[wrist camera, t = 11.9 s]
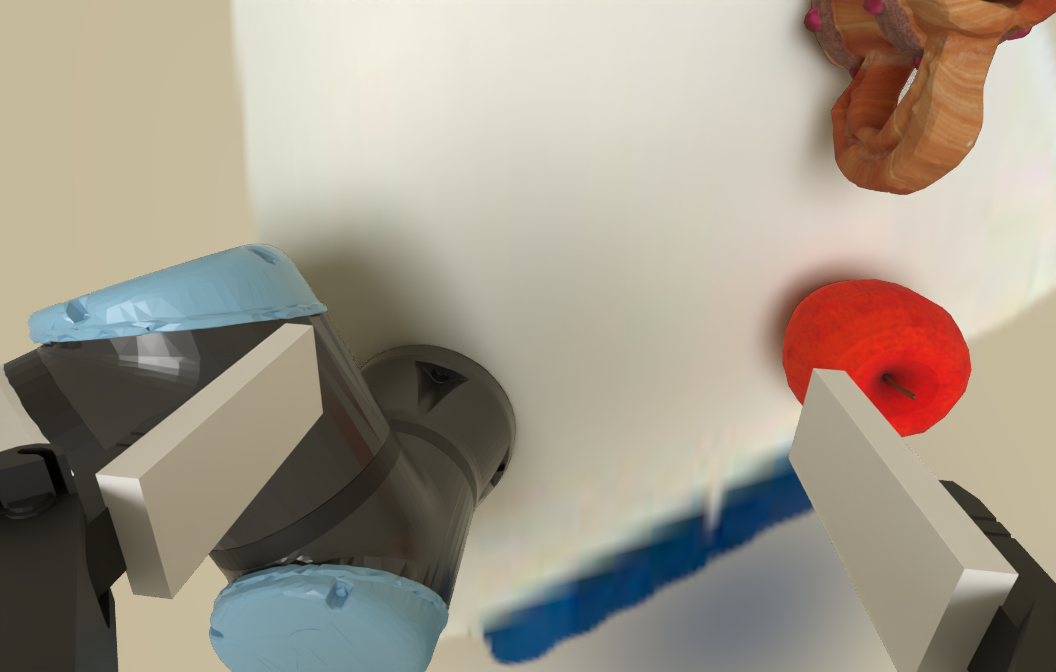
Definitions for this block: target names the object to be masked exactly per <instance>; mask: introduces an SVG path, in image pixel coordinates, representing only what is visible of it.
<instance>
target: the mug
mask: <svg viewBox="0 0 1056 672" xmlns="http://www.w3.org/2000/svg"><path fill="white" fill-rule="evenodd" d="M1055 12H1056V0H812V7H811V10H810V11H809V12H808V13H807V15H806V16H805V19H804V24H805V26H806V28H807V29H809V30H810V31H812V32H815V34H816V38H817V40H818V42H819V44H820V46H821V47H822V49H823V51H824V53H825V54H826V56H827V57H828V59H829V60H830V62H831V63H833V64H834V65H836V66H838V67H840V68H844V69H848V70H850V72H849V73H850V75H851V76H852V78H853V81H852V82H851V84H850V85H849V86H848V88H847V89H846V90H845V91H844V93H843V94H842V95H841V96H840V98H839V99H838V100H837V102H836V103H835V105H834V107H833V108H832V110H831V115H832V123H833V140H834V150H835V160H836V162H837V165H838V167H839V168H840V170H841V172H842V173H843V175H844V176H845V177H846V178H847V179H848V180H849V181H851V182H853V183H855V184H856V185H857V186H858V187H861V188H865V189H869V190H874V191H880V192H890V193H893V194H898V195H908V194H911V193H913V192H916V191H919V190H922V189H924V188H926V187H928V186H929V185H931V184H932V183H934V182H936V181H937V180H939V179H940V178H942V177H943V176H944V175H946V174H947V173H948V172H950V171H951V170H953V169H954V168H955V167H957V166H958V165H959V164H960V162H961V161H962V160H963V159H964V158H965V156H966V155H967V154H968V153H969V152H970V150H971V149H972V148H973V147H974V145H975V143H976V140H977V138H978V135H979V133H980V131H981V128H982V123H983V87H984V83H985V80H986V76H987V73H988V70H989V67H990V64H991V61H992V59H993V56H994V54H995V51H996V48H997V46H998V45H999V44H1001V43H1002V42H1004V41H1006V40H1013V39H1018V38H1023V37H1025V36H1026V35H1027V34H1029V33H1030V31H1031V29H1032V27H1033V26H1035V25H1037V24H1039V23H1041V22H1043V21H1044V20H1046V19H1047V18H1048V17H1050V16H1051V15H1052V14H1054V13H1055ZM914 68H916V69H917V70H918V71H917V73H916V76H915V79H914V81H913V83H912V84H911V86H910V88H909V90H908V91H907V93H906V94H905V96H904V97H903V99H902V100H901V102H900V103H899V105H898V106H897V104H898V98H899V95H900V93H901V90H902V89H903V87H904V85H905V84H906V82H907V80H908V78H909V76H910V74H911V73H912V71H913V69H914Z"/></svg>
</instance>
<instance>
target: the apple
mask: <svg viewBox="0 0 1056 672" xmlns="http://www.w3.org/2000/svg"><path fill="white" fill-rule="evenodd" d="M783 366H784V369H785V373H786V376H787V381H788V385H789V387H790V388H791V390H792V392H793V393H794V395H795V396H796V398H797V399H798V401H799V402H800V403H801V404H802V405H803V404H804V400H805V397H806V393H807V390H808V386H809V382H810V379H811V375H812V371H813V368H817V369H828V370H840V371H845V372H846V373H847V374H848V375H849V377H850V378H851V379H852V380H853V381H854V382H855V384H856V385H857V386H858V387H859V388H860V389H861V391H862V392H863V393H864V394H865V395H866V396H867V398H868V399H869V400H870V401H871V402H872V403H873V405H874V406H875V407H876V408H877V409H878V410H879V412H880V413H881V414H882V415H883V416H884V417H885V419H886V420H887V421H888V422H889V423H890V424H891V426H892V427H893V428H894V429H895V430H896V432H897V433H898V434H899V435H900V436H901V437H905V436H910V435H915V434H920V433H924V432H925V431H926V430H928V429H929V428H930V427H932V426H933V425H934V424H936V423H937V422H938V421H940V420H941V419H943V418H944V417H945V416H946V415H947V414H948V412H949V411H950V410H951V409H952V408H953V406H954V405H955V404H956V403H957V401H958V400H959V399H960V398H961V396H962V395H963V393H964V392H965V391H966V387H967V384H968V380H969V377H970V373H971V363H970V355H969V349H968V347H967V345H966V342H965V340H964V338H963V336H962V333H961V331H960V329H959V328H958V326H957V325H956V323H955V321H954V320H953V318H952V316H951V315H950V314H949V313H948V312H947V311H946V310H945V309H944V308H943V307H941V306H939V305H937V304H935V303H934V302H932V301H930V300H928V299H927V298H925V297H923V296H921V295H919V294H918V293H916V292H914V291H912V290H910V289H909V288H907V287H904V286H901V285H898V284H895V283H890V282H886V281H881V280H876V279H872V280H846V281H841V282H836V283H832V284H829V285H826V286H823V287H821V288H819V289H817V290H815V291H813V292H812V293H811V294H810V295H809V296H807V297H806V298H805V299H804V300H803V301H801V302H800V303H799V304H798V305H797V307H796V309H795V310H794V312H793V314H792V316H791V318H790V320H789V323H788V326H787V329H786V332H785V337H784V344H783Z"/></svg>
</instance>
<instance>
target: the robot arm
mask: <svg viewBox="0 0 1056 672" xmlns="http://www.w3.org/2000/svg"><path fill="white" fill-rule="evenodd" d="M326 311H328V309H327V307H326V305H325V304H324V303H322V302H319V300H318V299H317V297H316V296H315V294H314V293H313V291H312V290H311V288H310V287H309V285H308V284H307V282H306V281H305V279H304V278H303V276H302V275H301V273H300V272H299V270H298V269H297V267H296V266H295V264H294V263H293V261H292V260H291V259H290V258H289V257H288V256H287V255H286V254H285V253H284V252H282V251H281V250H279V249H277V248H275V247H273V246H270V245H265V244H248V245H244V246H240V247H236V248H232V249H228V250H225V251H221V252H218V253H215V254H211V255H208V256H204V257H201V258H198V259H195V260H191V261H188V262H185V263H182V264H178V265H175V266H172V267H169V268H166V269H162V270H159V271H156V272H153V273H149V274H147V275H143V276H140V277H137V278H134V279H131V280H128V281H125V282H122V283H119V284H115V285H112V286H109V287H106V288H104V289H101V290H98V291H95V292H92V293H91V294H87V295H83V296H80V297H78V298H75V299H72V300H69V301H66V302H64V303H59V304H55V305H52V306H49V307H47V308H44V309H41V310H39V311H37V312H34V313H33V314H32V315H30V318H29V320H28V325H29V329H30V333H29V337H30V338H31V339H32V340H33V342H34V343H38V342H40V343H42V344H43V345H42V346H40V347H38V348H37V349H35V350H33V351H31V352H29V353H27V354H25V355H22V356H20V357H18V358H16V359H14V360H12V361H10V362H8V363H6V364H3V365H1V366H0V672H118V658H117V638H116V618H115V601H114V598H113V594H112V592H111V589H110V587H111V586H112V585H113V583H114V582H115V581H116V580H117V579H118V578H119V577H120V576H121V575H122V574H123V573H124V572H125V571H126V573H127V576H128V579H129V582H130V585H131V589H132V592H133V594H135V595H143V596H151V597H159V598H167V599H173V597H174V596H175V595H176V594H177V592H178V591H179V590H180V589H181V587H182V586H183V585H184V584H185V583H186V581H187V580H188V579H189V578H190V576H191V575H192V574H193V573H194V571H195V570H196V569H197V568H198V566H199V565H200V564H201V563H202V561H203V560H204V559H205V558H206V557H207V555H208V554H209V555H210V557H211V558H212V559H213V561H214V562H215V563H216V565H217V566H218V567H219V569H220V570H221V571H222V573H223V574H224V575H225V576H226V578H227V580H228V583H229V584H228V585H227V586H226V587H225V588H224V589H223V590H222V591H221V592H220V593H219V595H218V596H217V598H216V599H215V602H214V610H213V612H212V614H211V618H210V623H211V627H210V630H209V636H210V641H211V644H212V646H213V649H214V650H215V652H216V654H217V655H218V657H219V658H220V660H221V661H222V662H223V663H224V664H225V665H226V666H227V667H228V668H229V669H230V670H231V671H232V672H425V671H426V669H427V667H428V665H429V663H430V661H431V658H432V655H433V652H434V649H435V647H436V644H437V641H438V638H439V635H440V633H441V632H442V630H443V629H444V628H445V627H446V624H447V621H448V609H449V605H450V601H451V598H452V594H453V590H454V586H455V582H456V578H457V574H458V571H459V567H460V563H461V559H462V555H463V551H464V547H465V544H466V540H467V536H468V532H469V528H470V525H471V521H472V517H473V513H474V510H475V509H476V507H477V506H478V505H479V504H480V503H481V502H482V501H483V499H484V498H485V497H486V496H487V495H488V494H489V493H490V492H491V490H492V489H493V488H494V487H495V486H496V485H497V483H498V482H499V481H500V479H501V478H502V476H503V475H504V473H505V471H506V469H507V467H508V464H509V462H510V458H511V454H512V450H513V445H514V440H515V419H514V414H513V410H512V407H511V405H510V402H509V400H508V398H507V396H506V394H505V392H504V391H503V389H502V388H501V386H500V385H499V384H498V382H497V381H496V380H495V379H494V378H493V377H492V376H491V375H490V374H489V373H488V372H487V371H486V370H485V369H484V368H482V367H481V366H480V365H478V364H477V363H475V362H474V361H472V360H470V359H469V358H467V357H465V356H463V355H461V354H458V353H456V352H453V351H450V350H447V349H444V348H440V347H434V346H426V345H412V346H403V347H398V348H394V349H391V350H388V351H386V352H383V353H381V354H379V355H377V356H376V357H374V358H372V359H371V360H370V361H368V362H367V363H366V364H365V365H364V366H363V367H362V368H361V369H360V370H359V368H358V367H357V365H356V363H355V362H354V360H353V358H352V356H351V355H350V353H349V351H348V350H347V348H346V346H345V344H344V343H343V341H342V339H341V338H340V336H339V334H338V333H337V331H336V329H335V327H334V326H333V324H332V322H331V321H330V319H329V317H328V315H327V314H326ZM789 460H790V462H791V464H792V466H793V468H794V470H795V472H796V474H797V476H798V478H799V480H800V482H801V483H802V485H803V487H804V489H805V491H806V493H807V495H808V497H809V499H810V501H811V503H812V505H813V507H814V509H815V511H816V513H817V515H818V517H819V519H820V520H821V523H822V525H823V527H824V528H825V530H826V532H827V534H828V536H829V538H830V540H831V542H832V544H833V546H834V548H835V550H836V552H837V554H838V556H839V558H840V560H841V562H842V564H843V566H844V568H845V569H846V572H847V573H848V575H849V577H850V579H851V581H852V583H853V585H854V587H855V589H856V591H857V593H858V595H859V597H860V599H861V601H862V603H863V605H864V607H865V609H866V611H867V613H868V615H869V617H870V618H871V620H872V622H873V624H874V626H875V628H876V630H877V632H878V634H879V636H880V638H881V640H882V642H883V644H884V646H885V648H886V650H887V652H888V654H889V656H890V657H891V659H892V661H893V663H894V665H895V667H896V669H897V671H898V672H1056V583H1055V582H1054V581H1053V580H1052V579H1051V578H1050V577H1049V576H1048V574H1047V573H1046V572H1045V571H1044V570H1043V569H1042V568H1041V567H1040V566H1039V565H1038V563H1037V562H1036V561H1035V560H1034V559H1033V558H1032V557H1031V556H1030V555H1029V554H1028V552H1027V551H1026V550H1025V549H1024V548H1023V547H1022V546H1021V545H1020V544H1019V543H1018V542H1017V540H1016V539H1014V538H1011V534H1010V533H1009V532H1008V531H1007V529H1006V528H1005V527H1004V526H1003V525H1002V524H1001V523H1000V522H997V521H996V517H995V516H994V515H993V514H992V513H991V512H990V511H989V510H988V509H987V508H986V507H985V505H984V504H983V503H982V502H981V501H980V500H979V499H978V498H976V497H975V496H974V495H972V494H971V493H969V492H968V491H966V490H965V489H963V488H962V487H960V486H959V485H957V484H956V483H955V482H953V481H944V480H938V479H937V478H936V477H935V476H934V475H933V474H932V472H930V470H929V469H928V468H927V467H926V465H925V464H923V462H922V461H921V460H920V458H919V457H918V456H917V455H916V454H915V453H914V452H913V450H912V449H911V448H910V447H909V446H908V444H907V443H906V442H905V441H904V440H903V439H902V437H901V436H900V435H899V434H898V433H897V432H896V430H895V429H894V428H893V427H892V426H891V424H890V423H889V422H888V421H887V420H886V419H885V417H884V416H883V415H882V414H881V413H880V412H879V410H878V409H877V408H876V407H875V406H874V405H873V403H872V402H871V401H870V400H869V399H868V398H867V396H866V395H865V394H864V393H863V392H862V391H861V389H860V388H859V387H858V386H857V385H856V384H855V382H854V381H853V380H852V379H851V378H850V377H849V375H848V374H847V373H846V372H845V371H840V370H828V369H817V368H813V371H812V375H811V379H810V382H809V386H808V390H807V393H806V397H805V400H804V404H803V408H802V411H801V415H800V419H799V422H798V426H797V429H796V433H795V437H794V440H793V444H792V448H791V451H790V455H789Z"/></svg>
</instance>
